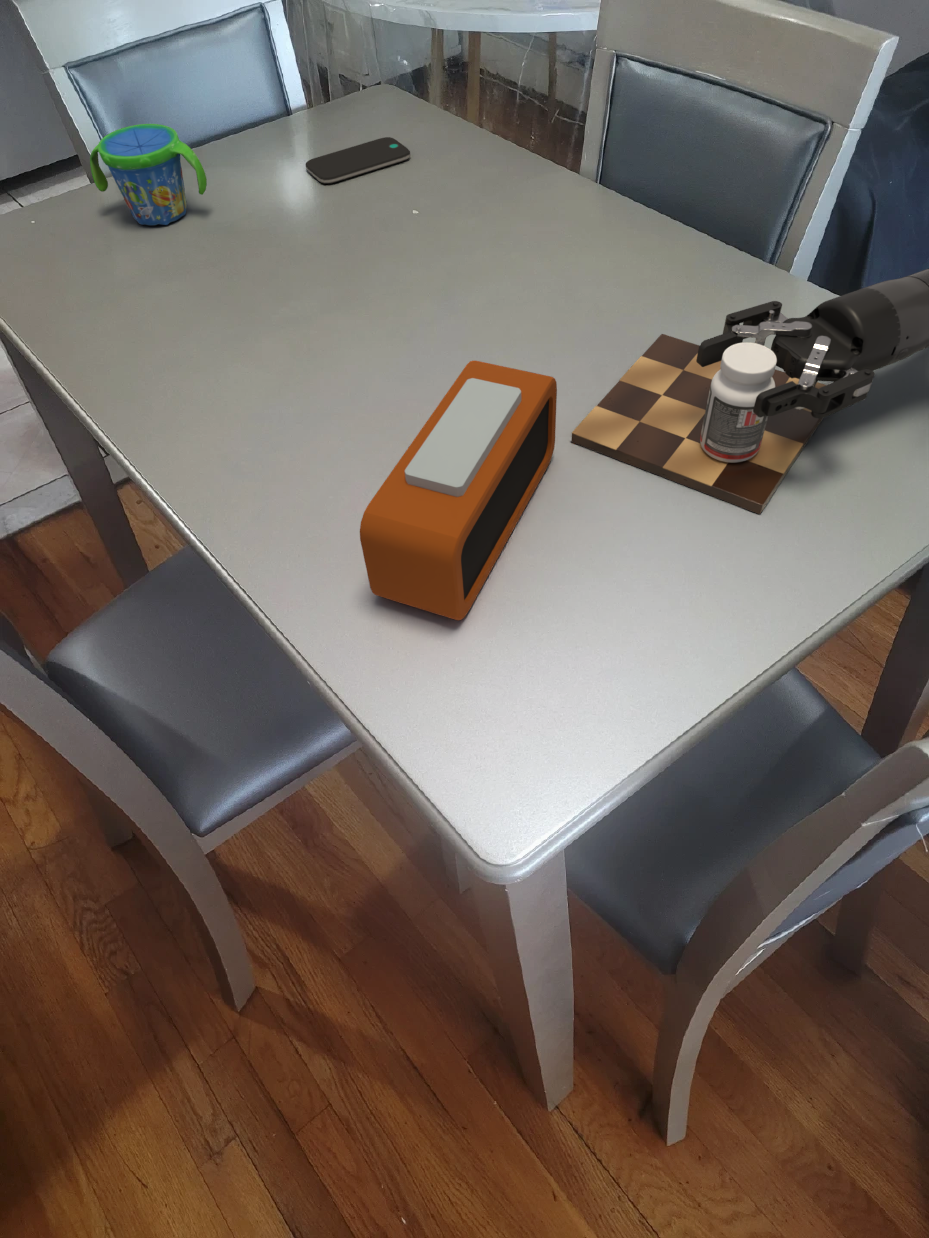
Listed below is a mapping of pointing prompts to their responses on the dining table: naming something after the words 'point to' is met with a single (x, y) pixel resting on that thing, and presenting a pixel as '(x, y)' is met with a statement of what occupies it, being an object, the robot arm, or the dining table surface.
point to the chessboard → (689, 428)
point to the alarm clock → (460, 489)
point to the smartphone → (357, 160)
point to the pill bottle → (737, 403)
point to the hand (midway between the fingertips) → (727, 380)
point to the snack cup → (147, 171)
